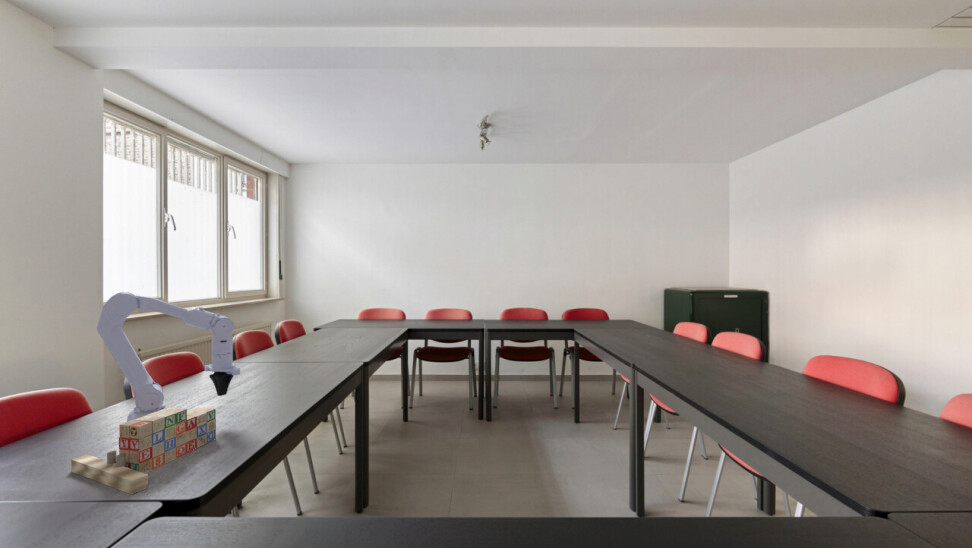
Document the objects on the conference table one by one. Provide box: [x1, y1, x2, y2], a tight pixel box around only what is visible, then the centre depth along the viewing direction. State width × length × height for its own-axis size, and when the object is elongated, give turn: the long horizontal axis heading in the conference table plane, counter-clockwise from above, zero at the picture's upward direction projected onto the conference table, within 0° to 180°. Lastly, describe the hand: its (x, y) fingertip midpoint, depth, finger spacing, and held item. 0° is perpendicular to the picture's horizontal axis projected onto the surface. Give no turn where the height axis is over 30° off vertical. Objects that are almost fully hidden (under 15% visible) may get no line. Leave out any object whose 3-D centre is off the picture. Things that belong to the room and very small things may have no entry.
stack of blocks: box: [118, 407, 217, 474], centre depth 105 cm, size 21×6×12 cm, turn 169°
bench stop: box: [70, 450, 149, 495], centre depth 93 cm, size 26×4×6 cm, turn 68°
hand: (222, 394), depth 127 cm, fingers closed
